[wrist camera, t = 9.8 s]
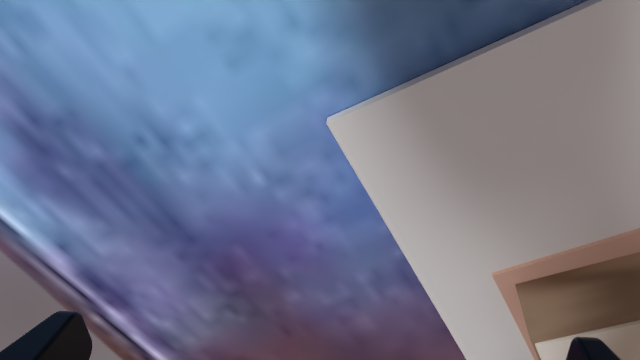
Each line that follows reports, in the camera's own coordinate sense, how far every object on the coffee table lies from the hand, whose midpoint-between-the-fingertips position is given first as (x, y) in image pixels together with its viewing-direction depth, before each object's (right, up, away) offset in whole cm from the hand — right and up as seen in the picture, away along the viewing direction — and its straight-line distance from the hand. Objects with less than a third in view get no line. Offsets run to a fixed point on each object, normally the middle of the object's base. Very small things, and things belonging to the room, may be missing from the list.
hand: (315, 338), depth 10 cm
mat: (+12, 0, +13) cm, 18 cm away
